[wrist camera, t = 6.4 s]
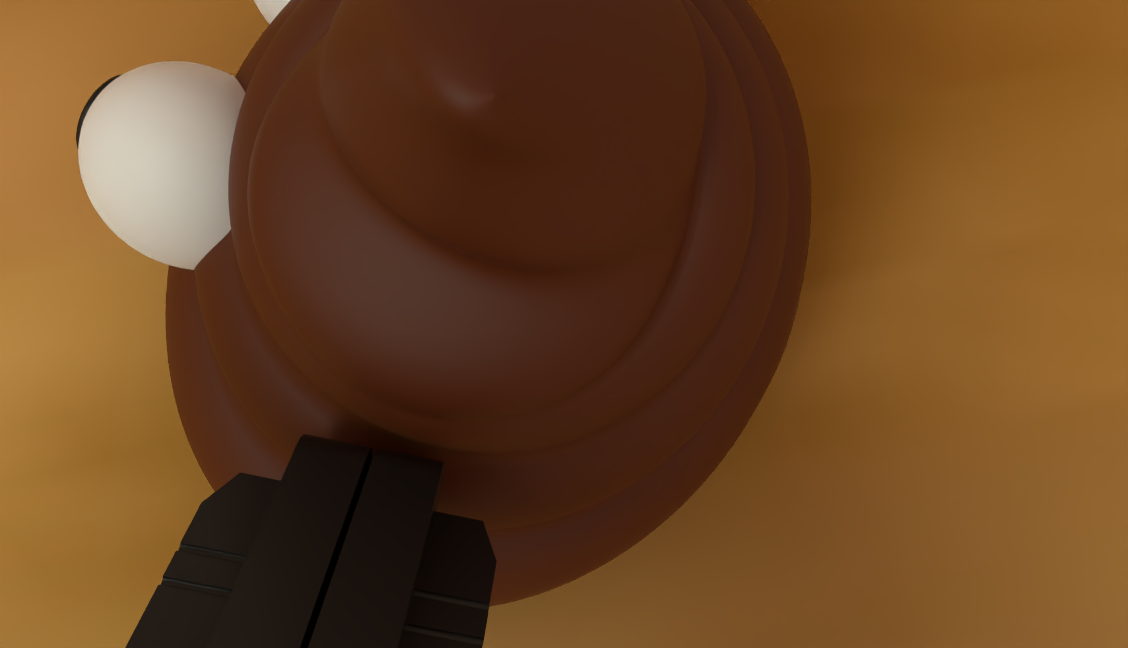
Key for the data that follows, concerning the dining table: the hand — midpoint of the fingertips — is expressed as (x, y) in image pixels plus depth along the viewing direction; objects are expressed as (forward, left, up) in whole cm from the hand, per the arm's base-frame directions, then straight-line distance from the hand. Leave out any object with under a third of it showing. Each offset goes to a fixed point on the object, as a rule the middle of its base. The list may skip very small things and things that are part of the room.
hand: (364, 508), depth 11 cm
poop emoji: (+1, +4, -5) cm, 6 cm away
